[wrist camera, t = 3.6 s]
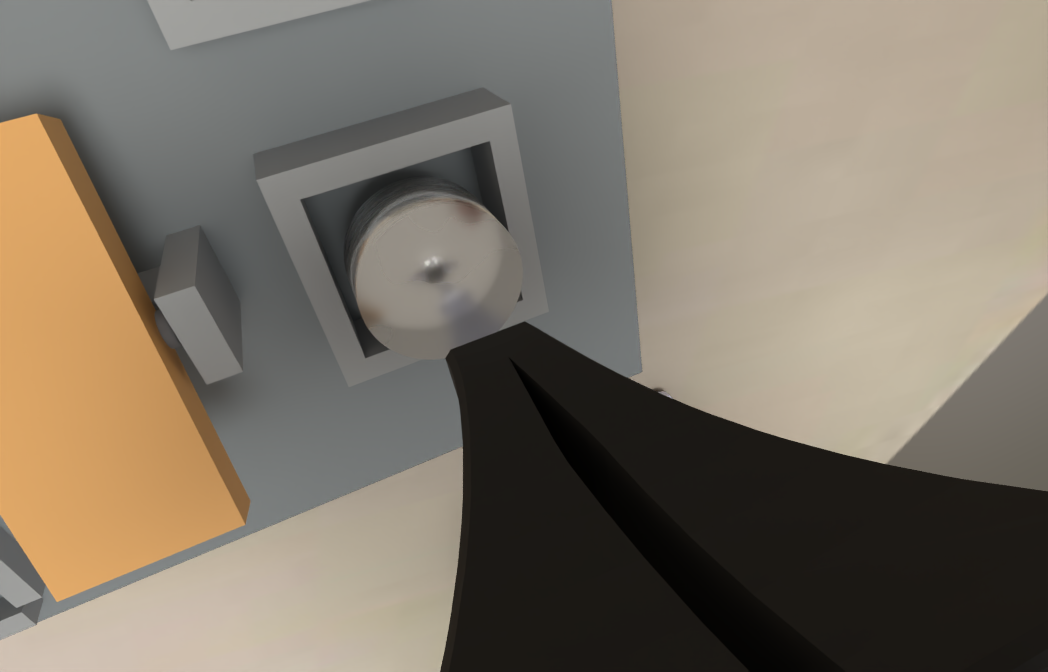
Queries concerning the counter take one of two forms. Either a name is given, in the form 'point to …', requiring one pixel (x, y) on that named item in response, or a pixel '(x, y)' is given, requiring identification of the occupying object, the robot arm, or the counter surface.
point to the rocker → (92, 386)
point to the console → (326, 207)
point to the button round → (430, 267)
